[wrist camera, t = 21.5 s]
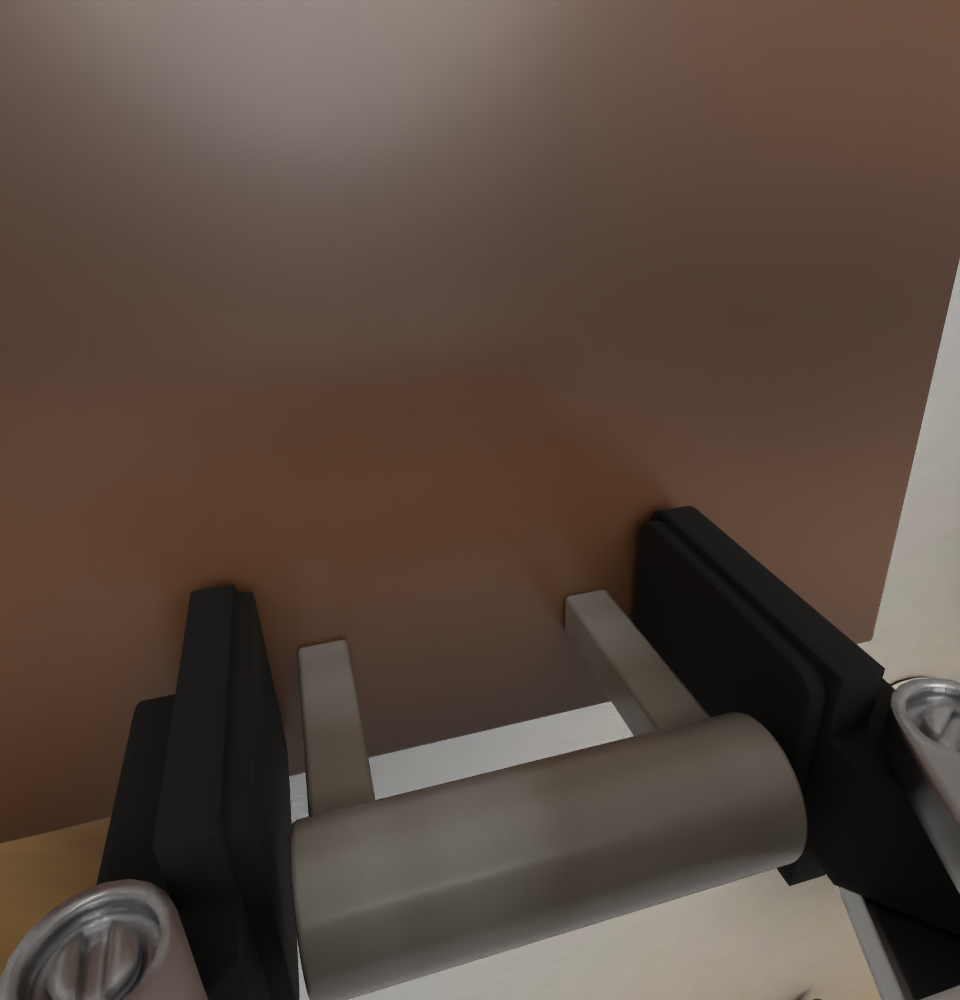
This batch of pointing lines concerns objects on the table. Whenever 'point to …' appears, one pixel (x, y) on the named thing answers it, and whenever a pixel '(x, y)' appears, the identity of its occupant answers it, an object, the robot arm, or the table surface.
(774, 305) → the wooden box lid
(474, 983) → the table surface
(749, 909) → the table surface
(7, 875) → the stand
